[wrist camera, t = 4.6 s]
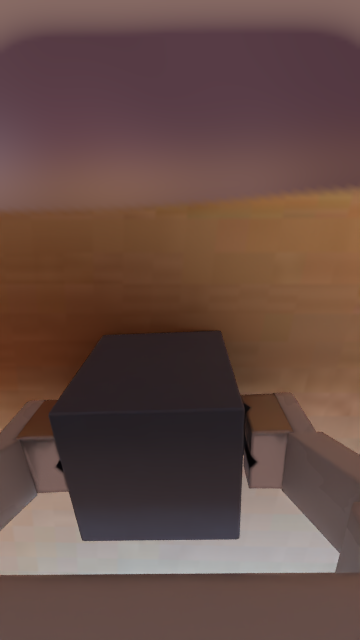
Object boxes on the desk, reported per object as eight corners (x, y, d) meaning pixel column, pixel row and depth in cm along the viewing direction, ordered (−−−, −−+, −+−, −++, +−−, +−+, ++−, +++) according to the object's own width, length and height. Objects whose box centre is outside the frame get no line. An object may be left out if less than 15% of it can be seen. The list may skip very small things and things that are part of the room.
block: (118, 428, 11) (81, 542, 7) (102, 334, 9) (46, 413, 6) (220, 425, 11) (239, 540, 7) (221, 329, 9) (245, 408, 5)
